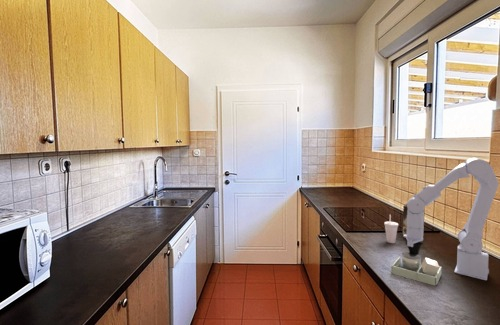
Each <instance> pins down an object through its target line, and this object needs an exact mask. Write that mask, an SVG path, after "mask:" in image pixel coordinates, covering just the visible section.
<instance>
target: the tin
mask: <svg viewBox="0 0 500 325" xmlns="http://www.w3.org/2000/svg"><path fill="white" fill-rule="evenodd" d="M401 255H402V256H401V265H402V266H401V267H402V268H403V269H407V270H411V271H418V269H419V268H420V266H421V265H422V259H421V258H422V256H421V254H416V253H412V252H409V251H403V252H402V254H401Z"/></svg>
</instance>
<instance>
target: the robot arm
mask: <svg viewBox="0 0 500 325" xmlns="http://www.w3.org/2000/svg"><path fill="white" fill-rule="evenodd" d="M470 175H471V177H473V178H474V179H475V181H477V183H478V184H479V186H478V189H477V192H476V194H475V198H474V201H473V204H472V207H471V209H470V212H469V215H468V218H467V220H466V223H465V224H464V225H463V228H462V229H461V230H460V231H459V232H458V234H457V240H458V241H459V242H460V243H459V244H458V245H457V249H456V250H457V253H456V254H457V255H456V266H455V268H454V273H455V274H458V275H463V276H468V277H471V278H475V279H479V280H483V281H488V276H489V274H490V269H489V253H487V252H484V251H482V249H483V241H482V240H483V235H484V234H483V233H484V232H483V231H484V230H483V229H484V227H485V223H486V222H487V218H488V215H489V213H490V210H491V207H492V203H493V201H494V199H495V196H496V194H497V190H498V187H499V181H498V178H497V176H496V174H495V172H494V168H493V166H492V165H490V163H489V162H487V161H486V160H484V159H481V158H478V157H471V158H468V159H466V160H464V162H461V163H460V164H458V165H457V166H456V167H454V168H453V169H452V170H450V171H449V172H448V173H447V174H446V175H444V176H443V177H442V178H441V179H440V180H438V181H437V182H436V183H434V184H428V185H423V186H422V189H421V190H420V191H418V193H417V194H413V195H412V197H410V198H409V199H408V200H407V202H406V204H407V208H408V211H407V214H408V215H407V235H403V234H402V235H403V238H406V240H405V245H406V246H407V248H408V252H412V253H416V254H419V253H420V250H421V248H422V245H423V243H424V242H423V241H424V235H423V216H422V211H423V210H424V211H425V207H427V206H428V205H430V204H432V203H433V202H434V201H436V200H438V199H439V198H440V197H441V195H442V194H441V192H442V191H443V190H445V189H446V188H447V187H449V186H450V185H451V184H453V183H455V182H457V181H458V180H459V179H464V178H470ZM419 255H420V254H419Z"/></svg>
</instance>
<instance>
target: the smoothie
mask: <svg viewBox="0 0 500 325" xmlns="http://www.w3.org/2000/svg"><path fill="white" fill-rule="evenodd" d="M391 218H392V215H391V214H389V221H384V224H383V225H384V230H385V235H386V242H387V243H389V244H395V243H396V239H397V234H398V227H399V223H398V222H395V221H392V219H391Z"/></svg>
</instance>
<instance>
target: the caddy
mask: <svg viewBox="0 0 500 325" xmlns="http://www.w3.org/2000/svg"><path fill="white" fill-rule="evenodd" d="M400 265H401V256H399V257H398V258H397V259H396V260H395V261H394V262H393V264H392V265H390V266H391V267H390V268H391V272H390V273H391V274H393V275H395V276H400V277H404V278H407V279H409V280H414V281H418V282H421V283H424V284H427V285H431V286H434V287H436V286H437V284H438V283H439V280H440V278H441V276H442V266H440V265H439V267H440V268H439V270H438V272H437V274H436V276H435V277H433V276H429V275H426V274H422V273H423V269H422V264H421V266H420V268H419V269H418V270H416V271H415V270H409V269H406V268H404V267H399V266H400Z"/></svg>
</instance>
